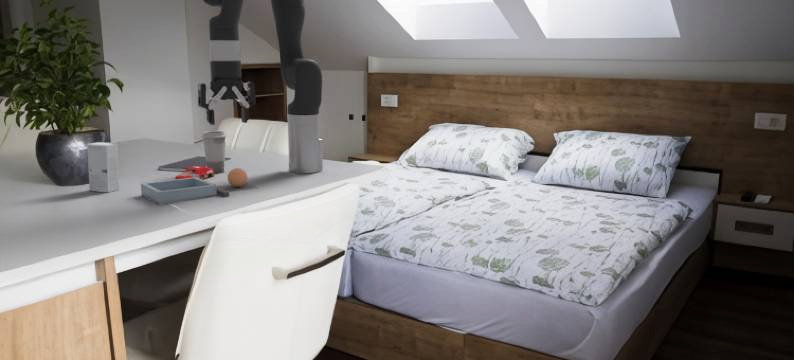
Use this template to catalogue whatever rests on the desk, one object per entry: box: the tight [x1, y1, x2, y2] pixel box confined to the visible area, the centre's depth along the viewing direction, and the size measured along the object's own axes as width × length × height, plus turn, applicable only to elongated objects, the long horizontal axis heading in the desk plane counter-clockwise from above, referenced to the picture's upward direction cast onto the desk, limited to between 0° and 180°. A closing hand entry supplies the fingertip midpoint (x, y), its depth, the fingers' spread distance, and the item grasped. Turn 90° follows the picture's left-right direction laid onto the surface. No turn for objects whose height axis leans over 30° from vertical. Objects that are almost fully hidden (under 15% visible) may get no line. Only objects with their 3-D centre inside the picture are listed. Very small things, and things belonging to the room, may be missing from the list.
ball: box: [227, 167, 248, 187], centre depth 166 cm, size 5×5×5 cm
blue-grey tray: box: [140, 177, 218, 206], centre depth 156 cm, size 14×13×3 cm
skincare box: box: [86, 141, 120, 193], centre depth 162 cm, size 6×4×12 cm
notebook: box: [158, 155, 232, 172], centre depth 201 cm, size 13×2×21 cm
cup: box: [201, 130, 228, 175], centre depth 188 cm, size 7×7×12 cm
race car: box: [174, 166, 215, 181], centre depth 176 cm, size 13×5×4 cm, turn 159°
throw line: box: [216, 186, 230, 198], centre depth 162 cm, size 1×18×1 cm, turn 39°
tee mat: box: [216, 182, 259, 193], centre depth 166 cm, size 8×8×1 cm
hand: (228, 123), depth 163 cm, fingers open, 8 cm apart
